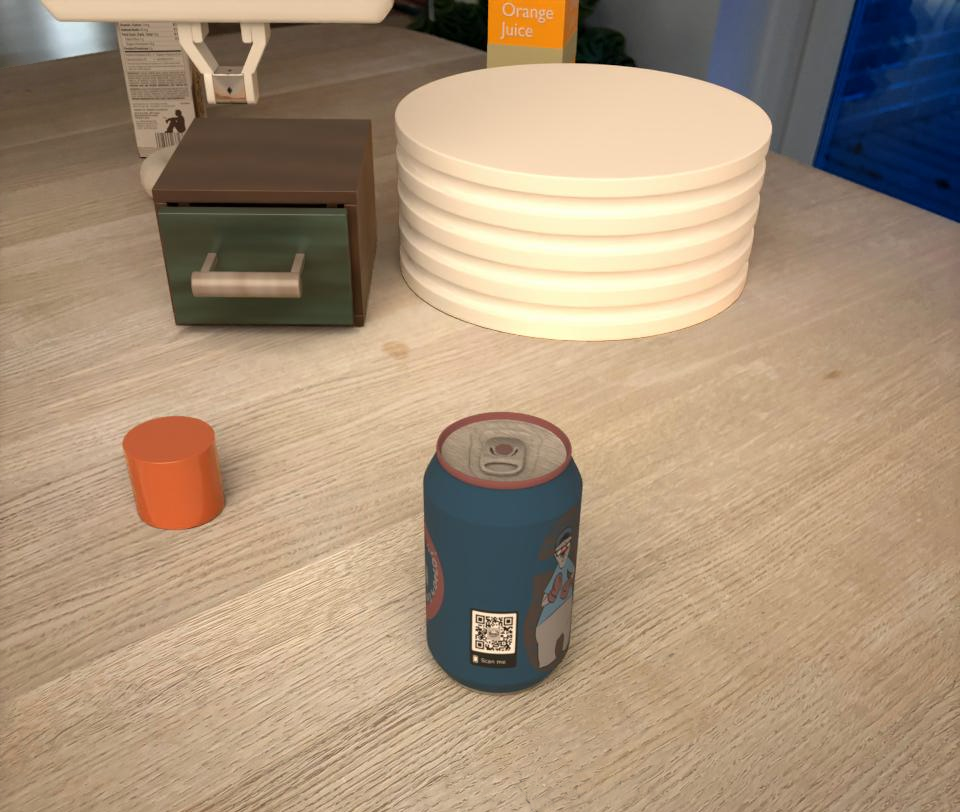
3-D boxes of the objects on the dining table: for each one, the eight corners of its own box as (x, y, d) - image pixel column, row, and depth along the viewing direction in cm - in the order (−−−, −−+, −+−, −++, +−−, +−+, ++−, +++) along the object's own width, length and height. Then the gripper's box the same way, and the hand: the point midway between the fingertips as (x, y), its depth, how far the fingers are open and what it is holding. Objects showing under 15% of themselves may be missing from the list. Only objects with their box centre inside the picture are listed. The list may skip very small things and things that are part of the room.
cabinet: (364, 326, 82) (355, 191, 76) (175, 325, 82) (151, 189, 76) (377, 242, 94) (371, 119, 88) (212, 241, 94) (194, 117, 88)
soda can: (436, 606, 58) (433, 399, 50) (570, 616, 58) (588, 409, 50) (417, 699, 53) (410, 484, 45) (564, 711, 52) (583, 496, 44)
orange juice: (573, 115, 121) (587, -105, 108) (558, 141, 115) (571, -90, 102) (502, 109, 122) (507, -109, 109) (484, 134, 116) (487, -95, 103)
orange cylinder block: (128, 529, 63) (112, 462, 60) (147, 480, 67) (133, 415, 64) (217, 530, 63) (206, 463, 60) (231, 481, 67) (221, 415, 64)
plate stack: (432, 356, 79) (430, 190, 71) (377, 211, 99) (371, 70, 92) (803, 324, 83) (838, 165, 76) (677, 191, 104) (694, 56, 96)
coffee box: (147, 129, 116) (115, -52, 105) (210, 128, 117) (185, -52, 106) (136, 158, 109) (101, -32, 98) (203, 157, 110) (176, -33, 99)
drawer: (347, 359, 76) (339, 245, 71) (161, 358, 76) (139, 244, 71) (367, 245, 91) (361, 143, 86) (212, 243, 91) (197, 142, 86)
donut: (277, 191, 103) (200, 166, 108) (274, 152, 101) (195, 128, 105) (197, 224, 97) (119, 196, 101) (192, 183, 95) (112, 157, 99)
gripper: (-18, -171, 57) (49, 116, 66) (383, -169, 57) (395, 118, 67) (19, -184, 62) (77, 86, 71) (390, -182, 62) (400, 87, 71)
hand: (233, 101), depth 69 cm, fingers closed
